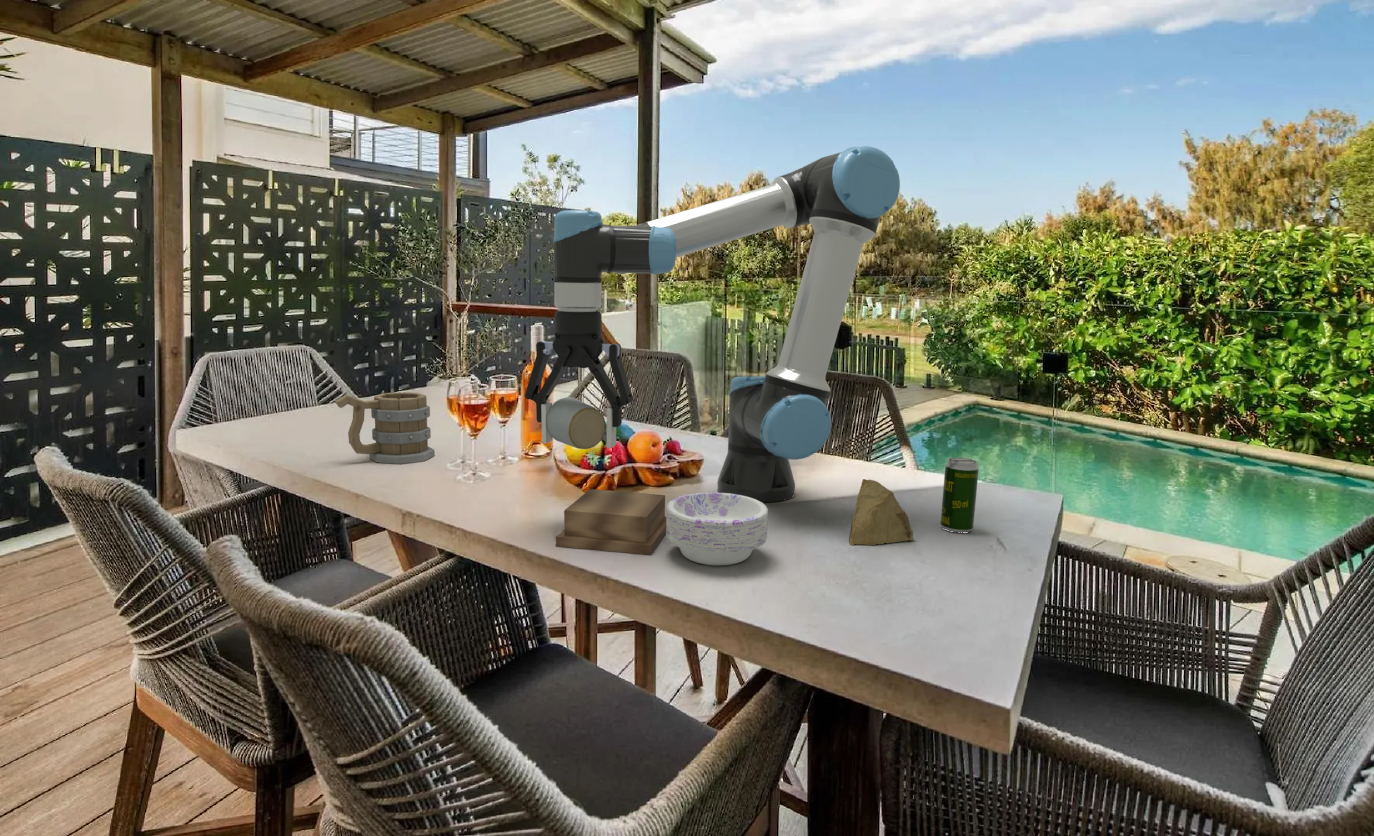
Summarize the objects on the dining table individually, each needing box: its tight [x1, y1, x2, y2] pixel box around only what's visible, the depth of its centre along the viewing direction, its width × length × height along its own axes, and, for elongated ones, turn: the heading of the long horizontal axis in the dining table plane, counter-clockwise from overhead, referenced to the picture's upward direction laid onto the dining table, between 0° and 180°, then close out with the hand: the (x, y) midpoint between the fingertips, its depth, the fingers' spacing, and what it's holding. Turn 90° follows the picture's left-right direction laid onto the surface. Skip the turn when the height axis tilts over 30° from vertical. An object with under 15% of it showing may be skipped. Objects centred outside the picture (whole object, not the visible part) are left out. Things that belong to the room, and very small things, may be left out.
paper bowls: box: [665, 492, 769, 567], centre depth 121 cm, size 15×15×8 cm
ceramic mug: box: [546, 396, 607, 450], centre depth 133 cm, size 11×8×8 cm
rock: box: [848, 478, 915, 546], centre depth 130 cm, size 11×9×10 cm
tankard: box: [335, 391, 436, 465], centre depth 176 cm, size 20×13×15 cm, turn 128°
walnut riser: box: [555, 488, 667, 556], centre depth 129 cm, size 15×15×6 cm
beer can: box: [940, 457, 980, 534], centre depth 137 cm, size 5×5×12 cm
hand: (579, 444), depth 134 cm, fingers closed on ceramic mug, 11 cm apart
